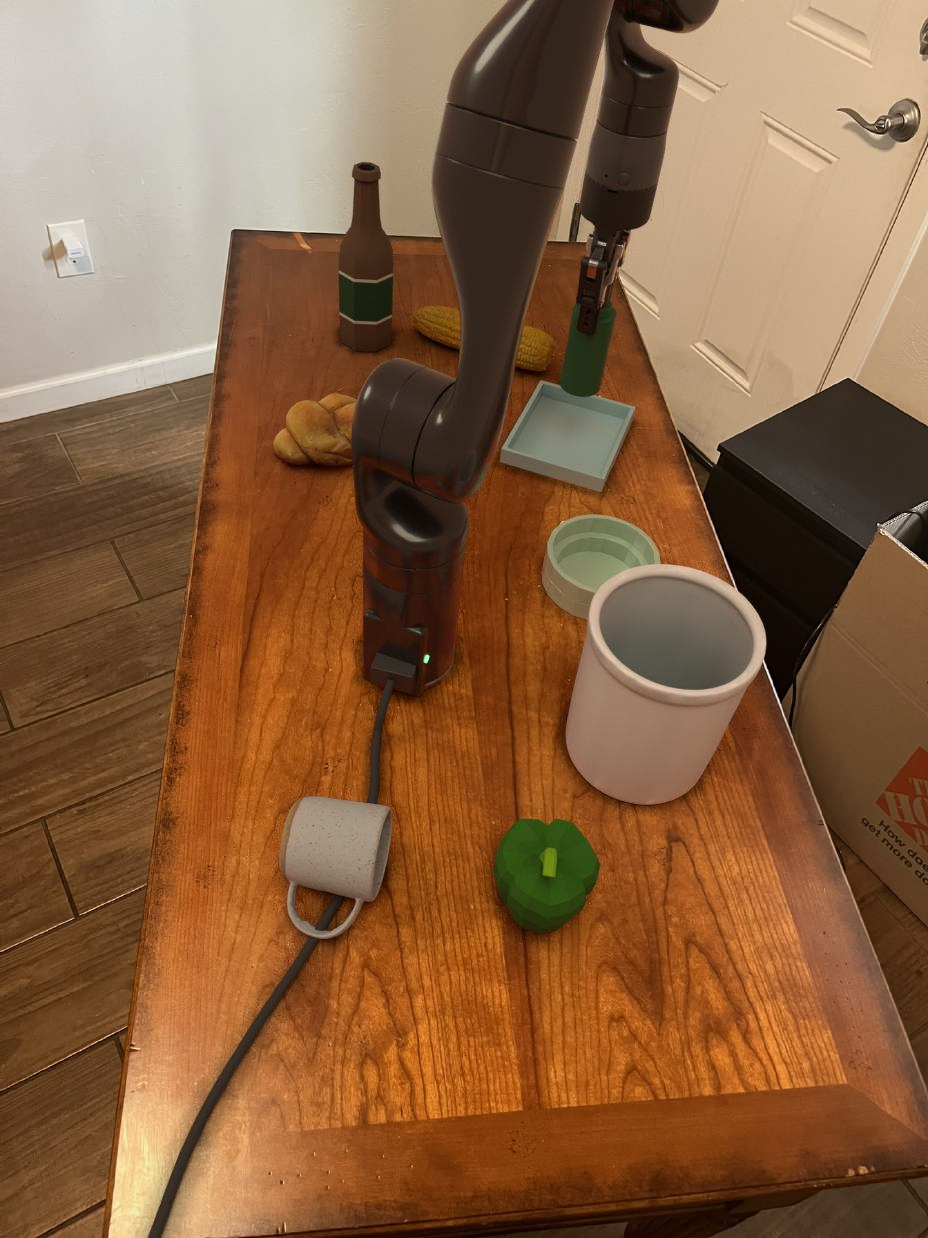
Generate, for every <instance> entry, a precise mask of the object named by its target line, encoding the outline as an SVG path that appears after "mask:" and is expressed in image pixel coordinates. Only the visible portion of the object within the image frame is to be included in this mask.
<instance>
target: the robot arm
mask: <svg viewBox="0 0 928 1238" xmlns="http://www.w3.org/2000/svg"><path fill="white" fill-rule="evenodd" d="M719 3H720V0H507V1H506V2H505V3H504V4H503V5H502V7H500V8H499V10H498V11H497V12H496V13H495V14H494V16H493V17H492V18H491V19H490V20H489V21H488V23H487V24H486V25H485V26H484V28H482V30H481V31H480V32H479V34H478V35H477V36H476V37H475V38H474V39H473V40H472V41H471V43H470V45H469V46H468V47H467V49H466V50H465V52H464V53H463V55H462V57H461V58H460V60H459V61H458V63H457V65H456V67H455V68H454V70H453V74H452V77H451V78H450V81H449V85H448V89H447V94H446V98H445V100H446V102H445V104H444V107H443V112H442V117H441V122H440V127H439V131H438V134H437V135H438V136H437V140H436V145H435V151H434V155H433V160H432V166H431V175H430V176H431V177H430V188H431V197H432V205H433V208H434V209H433V210H434V215H435V218H436V223H437V228H438V232H439V236H440V239H441V243H442V247H443V250H444V253H445V256H446V260H447V263H448V268H449V270H450V274H451V277H452V281H453V286H454V289H455V294H456V298H457V306H458V310H459V315H460V350H459V352H458V362H457V368H456V374H455V375H456V376H455V377H454V376H453V375H450V374H447V373H445V372H442V371H440V370H437V369H435V368H432V367H429V366H428V365H424V364H422V363H419V362H417V361H414V360H412V359H409V358H405V357H393V358H389V359H387V360H384V361H382V362H380V364H378V365H377V366H376V367H375V368H374V369H373V370H372V371H371V373H369V375H368V376H367V378H366V379H365V381H364V383H363V385H362V387H361V388H360V391H359V393H358V396H357V399H356V400H357V402H356V406H355V410H354V415H353V421H352V434H351V450H352V464H351V465H352V475H353V488H354V489H353V490H354V500H355V512H356V516H357V519H358V522H359V524H360V525H361V527H362V646H361V647H362V648H361V657H362V679H364V680H366V681H369V682H370V684H371V685H375V686H378V687H383V691H382V694H381V698H380V700H379V705H378V708H377V711H376V716H375V718H374V719H375V720H374V724H373V729H372V736H371V745H370V765H369V766H370V767H369V769H370V770H369V790H368V796H367V802H366V803H370V804H378V797H379V789H380V762H381V761H380V759H381V758H380V757H381V753H380V752H381V743H382V735H383V728H384V724H385V721H386V715H387V712H388V708H389V704H390V701H391V699H392V695H393V692H394V691H397V692H401V693H404V694H407V695H409V696H412V697H415V698H420V697H422V694H423V693H424V691H425V690H428V689H431V688H433V687H435V686H437V685H439V684H440V683H442V681H443V679H444V678H445V677H446V676H447V675H448V674H449V673H450V671H451V670H452V668H453V665H454V663H455V657H456V639H457V630H458V621H459V612H460V603H461V594H462V587H463V586H462V585H463V578H464V577H463V576H464V569H465V568H464V567H465V561H466V560H465V559H466V551H467V550H466V549H467V542H468V535H469V525H470V523H469V522H470V519H469V512H468V508H467V505H466V503H465V502H467V501H468V500H470V499H471V498H472V497H473V496H474V495H475V494H476V493H477V492H478V491H479V489H480V488H481V486H482V485H483V483H484V481H485V480H486V477H487V475H488V473H489V471H490V469H491V467H492V464H493V462H494V459H495V456H496V453H497V450H498V447H499V444H500V440H501V437H502V432H503V427H504V422H505V419H506V414H507V410H508V405H509V399H510V394H511V391H512V385H513V381H514V376H515V371H516V361H517V356H518V352H519V347H520V342H521V337H522V332H523V328H524V325H525V322H526V319H527V314H528V311H529V306H530V303H531V299H532V295H533V292H534V289H535V285H536V281H537V277H538V274H539V270H540V267H541V264H542V260H543V257H544V254H545V251H546V247H547V245H548V242H549V238H550V234H551V231H552V228H553V225H554V221H555V218H556V215H557V212H558V209H559V206H560V203H561V199H562V198H563V197H562V196H563V192H564V189H565V186H566V183H567V179H568V175H569V172H570V169H571V165H572V161H573V158H574V154H575V151H576V147H577V144H578V141H577V140H578V139H579V138H580V137H579V136H580V133H581V128H582V125H583V120H584V117H585V112H586V108H587V105H588V101H589V97H590V92H591V89H592V85H593V81H594V77H595V75H596V70H597V66H598V63H599V59H600V54H601V51H602V48H603V46H604V48H603V49H604V51H603V52H604V72H603V81H602V87H601V93H600V97H599V103H598V111H597V115H596V120H595V125H594V128H593V131H592V134H591V138H590V141H589V147H588V153H587V157H586V163H585V169H584V175H583V181H582V186H581V191H580V192H581V193H580V198H579V203H578V204H579V206H578V208H579V213H580V214H581V216H582V217H583V218H584V219H585V220H586V221H588V222H589V223H590V224H592V226H593V231H592V233H590V232H589V234H588V236H587V240H586V244H585V251H586V254H585V255H583V257H582V259H580V269H579V278H578V287H577V293H576V294H577V295H576V297H575V304H579V305H581V307H580V312H579V317H578V323H577V330H578V331H579V332H581V333H585V334H588V335H594V334H595V332H596V330H597V326H598V322H599V317H600V312H601V307H602V304H603V303H604V300H605V299H604V296H605V293H606V289H607V286H608V285H610V284H612V288H611V293H610V297H609V300H610V301H611V302H612V296H613V291H614V287H615V282H616V280H617V278H618V277H619V276H620V268H622V266H623V265H624V263H625V259H626V254H627V248H628V245H629V243H630V241H631V237H632V231H633V230H637V229H639V228H642V227H644V226H645V225H646V224H647V223H648V222H649V221H650V219H651V215H652V210H653V206H654V201H655V197H656V195H657V194H656V193H657V189H658V184H659V180H660V176H661V171H662V167H663V163H664V158H665V153H666V146H667V136H668V131H669V130H668V129H669V126H670V122H671V117H672V112H673V109H674V104H675V99H676V95H677V91H678V87H679V81H680V69H679V66H678V64H677V63H676V62H675V61H674V60H673V59H672V58H671V57H669V56H667V55H666V54H664V53H663V52H661V51H659V50H657V49H656V48H654V47H653V46H652V45H651V44H650V43H648V42H647V41H646V40H645V37H644V36H643V33H642V28H641V27H642V26H645V27H649V28H653V29H657V30H662V31H665V32H669V33H673V34H681V35H683V34H689V33H692V32H695V31H697V30H699V29H700V28H701V27H703V26H704V25H705V24H707V22H708V21H709V20H710V18H711V17H712V16H713V14H714V13H715V11H716V9H717V7H718V6H719ZM641 25H642V26H641ZM603 44H604V45H603ZM588 290H589V291H592V292H589V291H588ZM593 292H594V293H593ZM344 897H345V896H340V895H337V894H334V893H333V896H332V897H331V899H330V901H329V903H328V905H327V907H326V908H325V910H324V912H323V913H322V915H321V917H320V919H319V921H317V924H316V925H315V926H314V927H315V930H318V931H324V930H327V928H328V926H329V925H330V923H331V921H332V919H333V917H334V916H335V914H336V913H337V910H338V908H339V907H340V905H341V903H342V901H343V900H344ZM319 941H320V939H319V938H314V937H311V936H309V937H308V938H307V940H306V941H305V943H304V945H303V946H302V948H301V949H300V951H299V953H298V954H297V956H296V958H295V959H294V960H293V962H292V964H291V966H290V967H289V968H288V970H287V971H286V973H284V976H283V977H282V978H281V980H280V981H279V983H278V984H277V985H276V986H275V989H274V990H273V992H272V993H271V995H269V997H268V999H267V1000H266V1002H265V1003H264V1004H263V1006H262V1007H261V1009H260V1010H259V1012H258V1014H257V1015H256V1017H255V1018H254V1019H253V1021H252V1023H251V1025H250V1026H249V1028H248V1029H247V1031H246V1033H245V1034H244V1036H243V1037H242V1038H241V1041H240V1042H239V1043H238V1045H237V1047H236V1048H235V1050H234V1052H233V1053H232V1055H231V1056H230V1058H229V1059H228V1061H227V1062H226V1064H225V1066H224V1068H223V1069H222V1071H221V1072H220V1074H219V1076H218V1077H217V1079H216V1081H215V1082H214V1084H213V1086H212V1087H211V1089H210V1091H209V1093H208V1094H207V1097H206V1098H205V1100H204V1101H203V1104H202V1105H201V1107H200V1109H199V1111H198V1113H197V1115H196V1116H195V1119H194V1121H193V1123H192V1125H191V1127H190V1129H189V1131H188V1133H187V1135H186V1138H185V1140H184V1142H183V1144H182V1146H181V1149H180V1151H179V1153H178V1156H177V1157H176V1161H175V1163H174V1166H173V1168H172V1170H171V1172H170V1176H169V1179H168V1181H167V1183H166V1186H165V1188H164V1192H163V1195H162V1198H161V1200H160V1204H159V1206H158V1208H157V1212H156V1214H155V1217H154V1218H153V1219H154V1220H153V1222H152V1225H151V1227H150V1230H149V1233H148V1235H147V1238H162V1236H163V1233H164V1230H165V1228H166V1225H167V1222H168V1220H169V1217H170V1215H171V1210H172V1209H173V1205H174V1202H175V1200H176V1197H177V1195H178V1191H179V1188H180V1185H181V1183H182V1180H183V1178H184V1175H185V1172H186V1170H187V1167H188V1164H189V1162H190V1160H191V1157H192V1155H193V1153H194V1150H195V1148H196V1145H197V1143H198V1141H199V1139H200V1136H201V1135H202V1133H203V1131H204V1128H205V1126H206V1124H207V1122H208V1120H209V1118H210V1116H211V1114H212V1112H213V1111H214V1109H215V1107H216V1105H217V1103H218V1101H219V1099H220V1097H221V1096H222V1094H223V1092H224V1090H225V1089H226V1088H227V1085H228V1084H229V1082H230V1080H231V1078H232V1077H233V1075H234V1074H235V1072H236V1070H237V1069H238V1067H239V1066H240V1064H241V1063H242V1061H243V1060H244V1057H245V1056H246V1054H247V1053H248V1051H249V1049H250V1048H251V1047H252V1045H253V1043H254V1041H255V1040H256V1038H257V1036H258V1035H259V1033H260V1032H261V1030H262V1029H263V1027H264V1026H265V1024H266V1023H267V1021H268V1019H269V1018H270V1016H271V1015H272V1013H273V1011H274V1010H276V1008H277V1006H278V1004H279V1003H280V1001H281V1000H282V999H283V997H284V995H285V994H286V993H287V992H288V990H289V988H290V987H291V985H292V984H293V982H294V981H295V979H296V978H297V976H298V975H299V974H300V972H301V970H302V969H303V968H304V965H305V964H306V963H307V961H308V959H309V957H311V954H312V953H313V951H314V949H315V948H316V946H317V944H318V942H319Z"/></svg>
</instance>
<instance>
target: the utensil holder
mask: <svg viewBox="0 0 928 1238" xmlns="http://www.w3.org/2000/svg"><path fill="white" fill-rule="evenodd" d="M764 626H765V625H764V623H763V621H762V619H761V617H760V615H759V613H758V612H757V610H756V609H755V608H754V605H752V603H751V602H750V601H749V599H748V598H747V597H746V596H744V595H743V594H742V593H741V592H740V591H739V590H737V589H736V588H735V587H734V586H732V585H731V584H729V583H728V582H726V581H724V580H723V579H721V578H719V577H717V576H715V575H713V574H711V573H708V572H706V571H703V570H700V569H697V568H693V567H689V566H685V565H677V564H667V563H661V564H653V565H643V566H638V567H633V568H630V569H627V570H624V571H622V572H620V573H617V574H616V575H614V576H612V577H611V578H609V579H608V580H607V581H606V582H604V583H603V584H602V585H601V586H600V588H599V589H598V590H597V592H596V593H595V594H594V596H593V598H592V601H591V604H590V607H589V612H588V617H587V620H586V634H585V639H584V643H583V647H582V650H581V655H580V659H579V664H578V668H577V672H576V676H575V680H574V684H573V688H572V694H571V699H570V703H569V708H568V713H567V714H568V715H567V719H566V726H565V745H566V748H567V752H568V755H569V757H570V760H571V762H572V764H573V766H574V767H575V769H576V770H577V772H579V774H580V775H581V776H582V778H584V779H585V781H587V783H589V784H590V785H591V786H592V787H594V788H595V789H597V790H598V791H599V792H601V793H602V794H605V795H607V796H608V797H611V798H613V799H615V800H617V801H621V802H625V803H628V804H629V803H630V804H634V805H641V806H643V805H645V806H648V805H649V806H650V805H659V804H665V803H668V802H672V801H674V800H676V799H679V798H680V797H682V796H684V795H685V794H687V793H688V792H689V791H690V790H691V789H692V788H694V786H695V785H697V783H698V781H699V780H700V778H701V777H702V775H703V774H704V772H705V770H706V768H707V766H708V765H709V763H710V762H711V760H712V758H713V756H714V754H715V752H716V750H717V749H718V746H719V745H720V743H721V741H722V739H723V736H724V734H725V732H726V730H727V728H728V726H729V724H730V722H731V721H732V718H733V716H734V714H735V712H736V711H737V709H738V707H739V705H740V703H741V701H742V699H743V697H744V695H745V693H746V691H747V688H748V687H749V685H751V683H752V682H753V681H754V680H755V678H756V677H757V675H758V673H759V672H760V670H761V668H762V665H763V663H764V659H765V656H766V651H767V634H766V629H765V627H764Z"/></svg>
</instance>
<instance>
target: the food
mask: <svg viewBox="0 0 928 1238" xmlns="http://www.w3.org/2000/svg"><path fill="white" fill-rule="evenodd" d="M414 311H415V312H413V315H412V316H411V317H412V323H413V325H414V328H416V329H417V330H418V332H419V333H421V334H422V335H423V336H425V337H426V338H428V339H430V340H433V341H434V342H438V343H440V344H443V345H445V346H446V347H451V348H452V349H453V348H454V349H457V350H459V351H460V315H459V308H456V307H453V308H452V307H451V306H442V305H427V306H425V305H424V306H422V307H421V308H417V309H415V310H414ZM556 344H557V343H556V340H554V337H552V336H551V335H550V334H548V333H547V332H545V331H544V330H542V329H539V328H536V327H532V326H530V325H525V324H524V328H523V332H522V337H521V342H520V347H519V352H518V356H517V361H516V366H515V368H519V369H522V370H526V371H527V370H528V371H533V372H545V371H547V367H548V366H549V365H550V364H551V362H552V359H553V358H554V357H555V355H556V354H555V351H556Z"/></svg>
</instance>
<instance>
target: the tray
mask: <svg viewBox="0 0 928 1238" xmlns="http://www.w3.org/2000/svg"><path fill="white" fill-rule="evenodd" d="M636 408H637V407H636V406H634V405H631V404H627V403H623V402H619V401H616V400H613V399H609V398H605V397H602V396H599V395H596V394H595V395H593V396H589V397H578V396H574V395H571V394H569V393H567V392H565V391H564V390H563V389H562V388H561V386H560V384H556V383H552V382H549V381H547V380H546V381H545V380H542V379H540V381H539V383H538V384H537V386H536V387H535V389H534V391H533V393H532V395H531V396H530V398H529V400H528V401H527V403H526V405H525V407H524V408H523V410H522V411H521V414H520V415H519V417H518V419H517V420H516V422H515V424H514V426H513V427H512V429H511V431H510V433H509V435H508V437H507V438H506V440H505V441H504V443H503V445H502V446H501V449H500V456H499V462H500V463H503V464H505V465H509V466H513V467H516V468H519V469H522V470H526V471H530V472H533V473H535V474H539V475H541V476H542V475H543V476H545V477H549V478H552V479H556V480H559V481H561V482H562V481H563V482H566V483H569V484H572V485H576V486H579V487H583V488H585V489H588V490H593V491H596V492H598V493H602V491H603V489H604V487H605V485H606V482H607V480H608V478H609V475H610V473H611V471H612V469H613V467H614V465H615V463H616V461H617V458H618V456H619V454H620V451H621V449H622V446H623V444H624V442H625V439H626V437H627V435H628V433H629V430H630V427H631V426H632V423H633V421H634V417H635V413H636Z"/></svg>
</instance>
